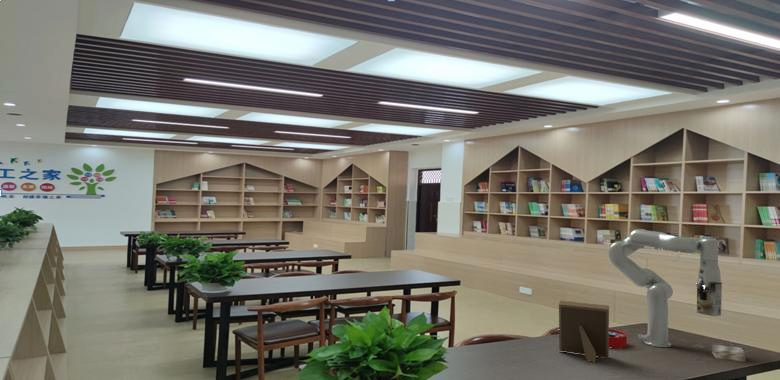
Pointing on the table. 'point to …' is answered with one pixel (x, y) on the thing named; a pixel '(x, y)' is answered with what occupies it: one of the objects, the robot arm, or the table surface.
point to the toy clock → (617, 339)
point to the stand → (728, 353)
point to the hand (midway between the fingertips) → (709, 299)
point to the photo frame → (584, 329)
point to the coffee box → (710, 300)
